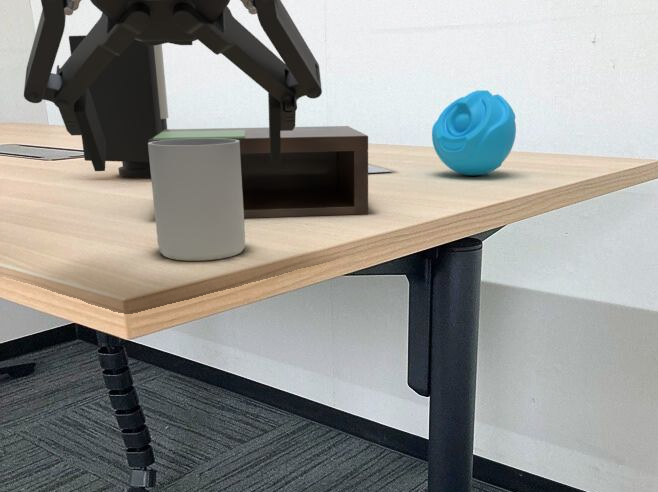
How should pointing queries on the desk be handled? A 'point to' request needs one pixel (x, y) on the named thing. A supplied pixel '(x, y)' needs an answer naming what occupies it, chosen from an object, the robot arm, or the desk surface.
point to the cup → (197, 198)
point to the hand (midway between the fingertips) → (189, 155)
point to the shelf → (297, 169)
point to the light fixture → (130, 105)
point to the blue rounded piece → (475, 133)
